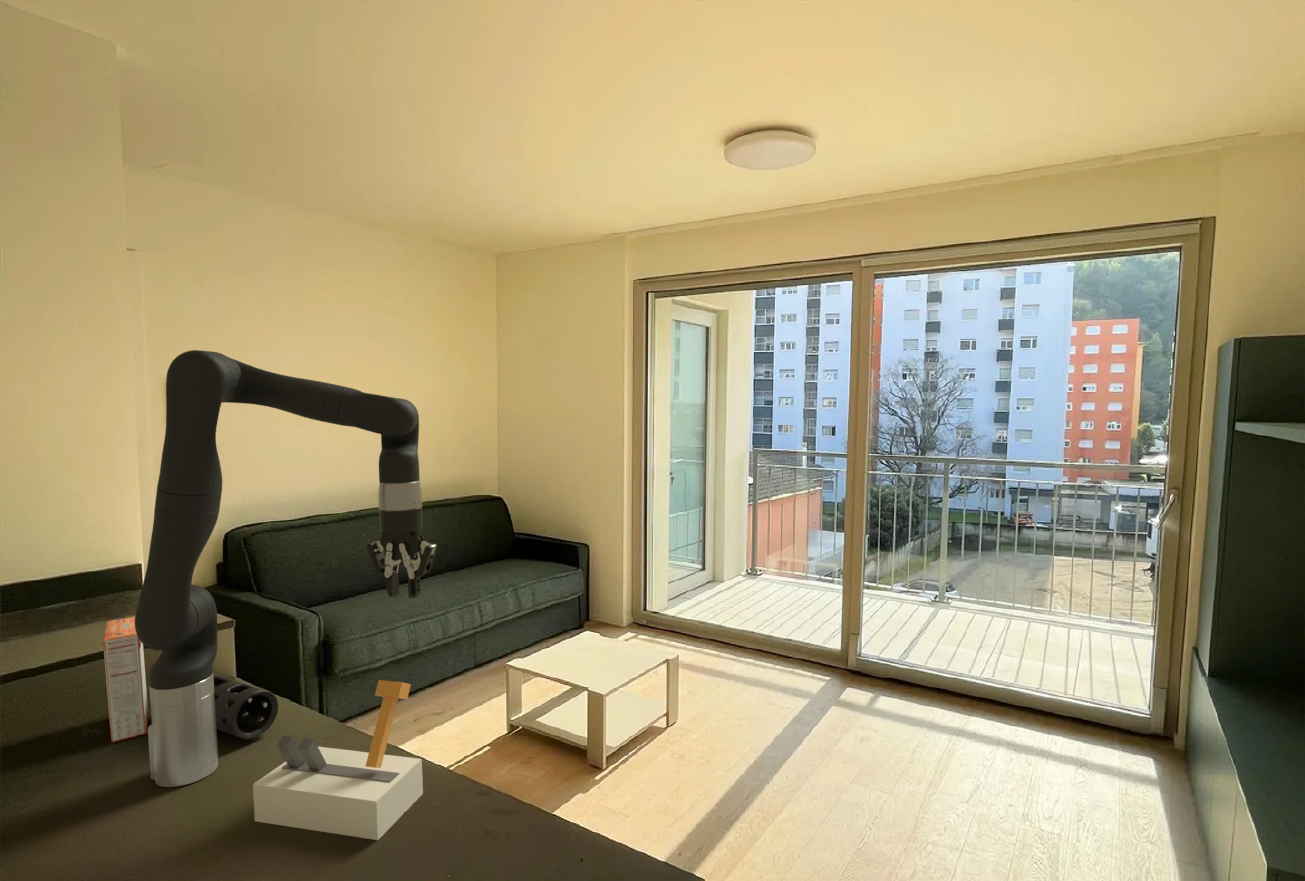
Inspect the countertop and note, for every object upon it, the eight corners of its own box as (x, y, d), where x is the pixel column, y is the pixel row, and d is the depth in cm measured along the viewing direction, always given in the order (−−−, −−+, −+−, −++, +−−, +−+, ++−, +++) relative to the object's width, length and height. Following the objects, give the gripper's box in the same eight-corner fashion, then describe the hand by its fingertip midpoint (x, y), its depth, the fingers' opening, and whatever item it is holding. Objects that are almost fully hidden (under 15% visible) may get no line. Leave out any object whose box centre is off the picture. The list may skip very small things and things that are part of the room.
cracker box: (112, 717, 140) (106, 620, 139) (148, 709, 144) (142, 614, 142) (108, 744, 129) (101, 639, 128) (147, 735, 132) (140, 632, 131)
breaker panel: (254, 821, 104) (251, 748, 103) (310, 778, 116) (307, 712, 115) (377, 840, 99) (374, 763, 99) (423, 793, 111) (420, 724, 110)
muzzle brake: (232, 754, 125) (229, 700, 124) (153, 722, 138) (150, 673, 137) (281, 731, 133) (278, 681, 133) (202, 703, 146) (200, 657, 146)
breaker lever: (356, 765, 105) (378, 680, 111) (366, 765, 108) (387, 682, 113) (380, 768, 104) (402, 682, 110) (390, 768, 107) (410, 684, 112)
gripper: (354, 508, 121) (357, 600, 122) (423, 509, 118) (426, 604, 119) (379, 501, 129) (383, 589, 130) (445, 503, 125) (448, 592, 126)
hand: (404, 596), depth 124 cm, fingers open, 3 cm apart
